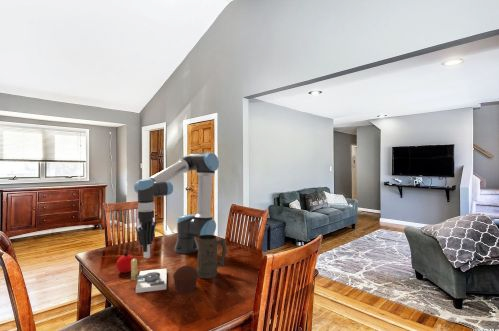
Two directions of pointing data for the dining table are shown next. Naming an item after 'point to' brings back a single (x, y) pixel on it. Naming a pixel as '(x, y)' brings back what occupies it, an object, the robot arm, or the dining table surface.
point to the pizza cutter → (148, 277)
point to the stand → (154, 285)
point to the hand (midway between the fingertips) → (146, 257)
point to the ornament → (124, 263)
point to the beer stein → (209, 256)
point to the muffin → (185, 279)
